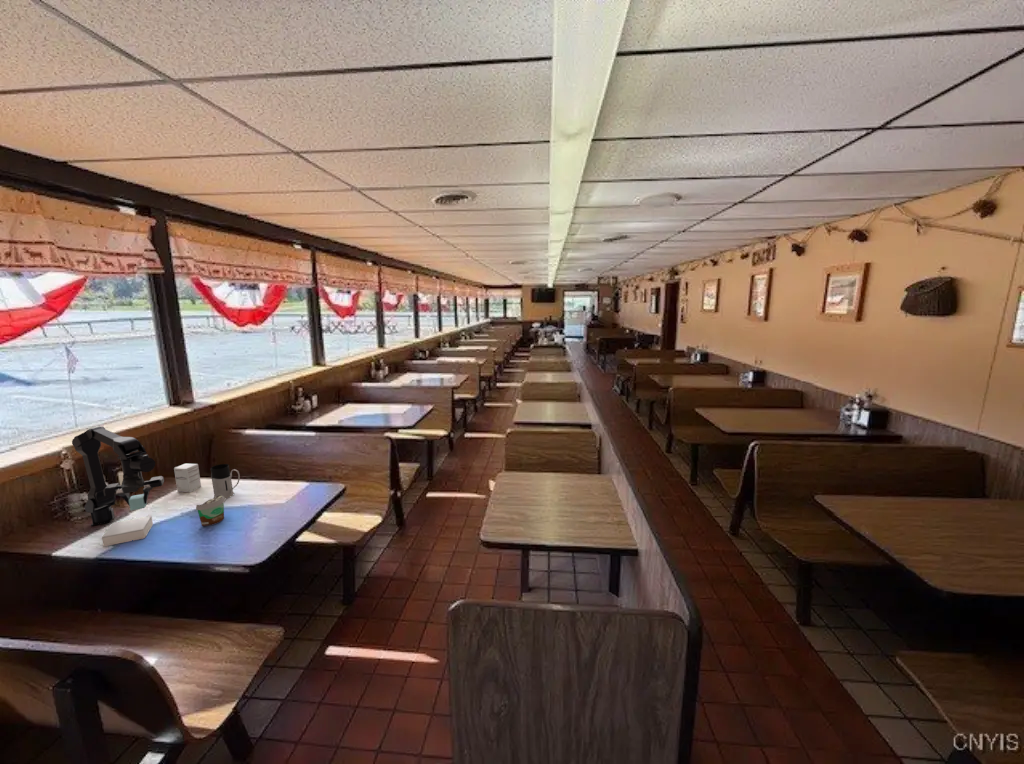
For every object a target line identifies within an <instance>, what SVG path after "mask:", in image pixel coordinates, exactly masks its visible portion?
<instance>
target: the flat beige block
mask: <svg viewBox="0 0 1024 764" xmlns="http://www.w3.org/2000/svg"><path fill="white" fill-rule="evenodd" d="M153 525H154V523H153V516H152V515H147V516H142V517H138V518H137V517H136V518H132V519H126V520H122V521H121V520H120V521H116V522H112V523H111V524H110V525H109V527H108V528H107V530H106V531H105V532H104V534H102V536H101V540H102V545H103V547H108V546H113V545H117V544H122V543H127V542H132V540H133V541H138V540H142V539H145V538H147V536H148V534H149V532H150V530H151V528H152V527H153Z"/></svg>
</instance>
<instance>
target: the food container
mask: <svg viewBox="0 0 1024 764" xmlns="http://www.w3.org/2000/svg"><path fill="white" fill-rule="evenodd" d="M225 501H226V499H225V498H224V496H223V495H222V494H218V496H217V497H215V498H214V497H213V498H210V499H208V500H206V501H205V502H204V503H202V504H196V506H195V510H196V511H197V513H198V516H199V521H200V524H201V525H200V526H202V527H207V526H208V527H209V526H214V525H216V524H218V523H219V524H220V522H222V521H223V520H225V509H224V507H225V505H224V502H225Z"/></svg>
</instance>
